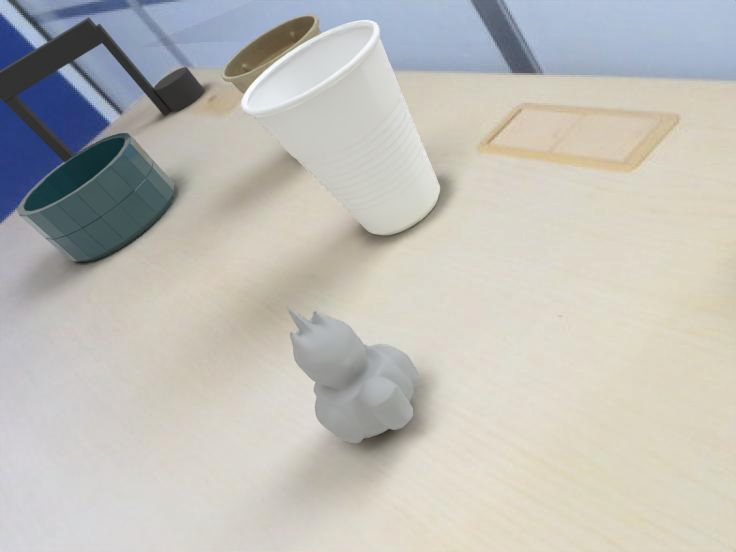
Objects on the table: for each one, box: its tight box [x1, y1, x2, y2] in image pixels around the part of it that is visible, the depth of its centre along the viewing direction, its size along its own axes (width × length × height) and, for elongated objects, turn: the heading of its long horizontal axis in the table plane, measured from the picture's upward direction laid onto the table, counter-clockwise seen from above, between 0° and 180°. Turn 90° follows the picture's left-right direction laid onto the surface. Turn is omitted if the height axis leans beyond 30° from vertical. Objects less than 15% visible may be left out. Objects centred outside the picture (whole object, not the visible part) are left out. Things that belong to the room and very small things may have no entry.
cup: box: [240, 19, 441, 236], centre depth 50 cm, size 10×10×11 cm
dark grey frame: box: [0, 17, 206, 162], centre depth 91 cm, size 20×5×12 cm, turn 114°
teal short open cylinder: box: [16, 132, 175, 263], centre depth 73 cm, size 12×12×6 cm
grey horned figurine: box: [285, 305, 420, 444], centre depth 37 cm, size 5×7×8 cm
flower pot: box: [220, 13, 322, 95], centre depth 65 cm, size 9×9×9 cm
